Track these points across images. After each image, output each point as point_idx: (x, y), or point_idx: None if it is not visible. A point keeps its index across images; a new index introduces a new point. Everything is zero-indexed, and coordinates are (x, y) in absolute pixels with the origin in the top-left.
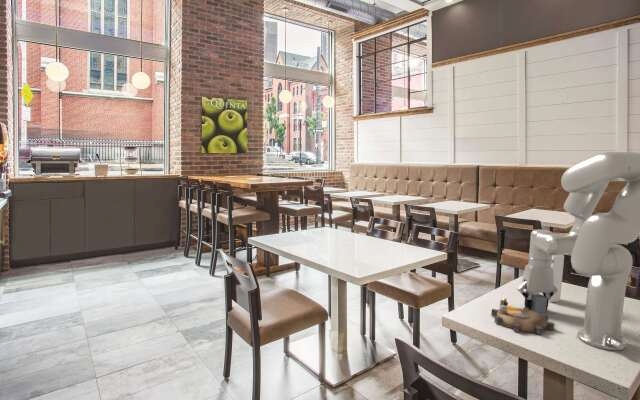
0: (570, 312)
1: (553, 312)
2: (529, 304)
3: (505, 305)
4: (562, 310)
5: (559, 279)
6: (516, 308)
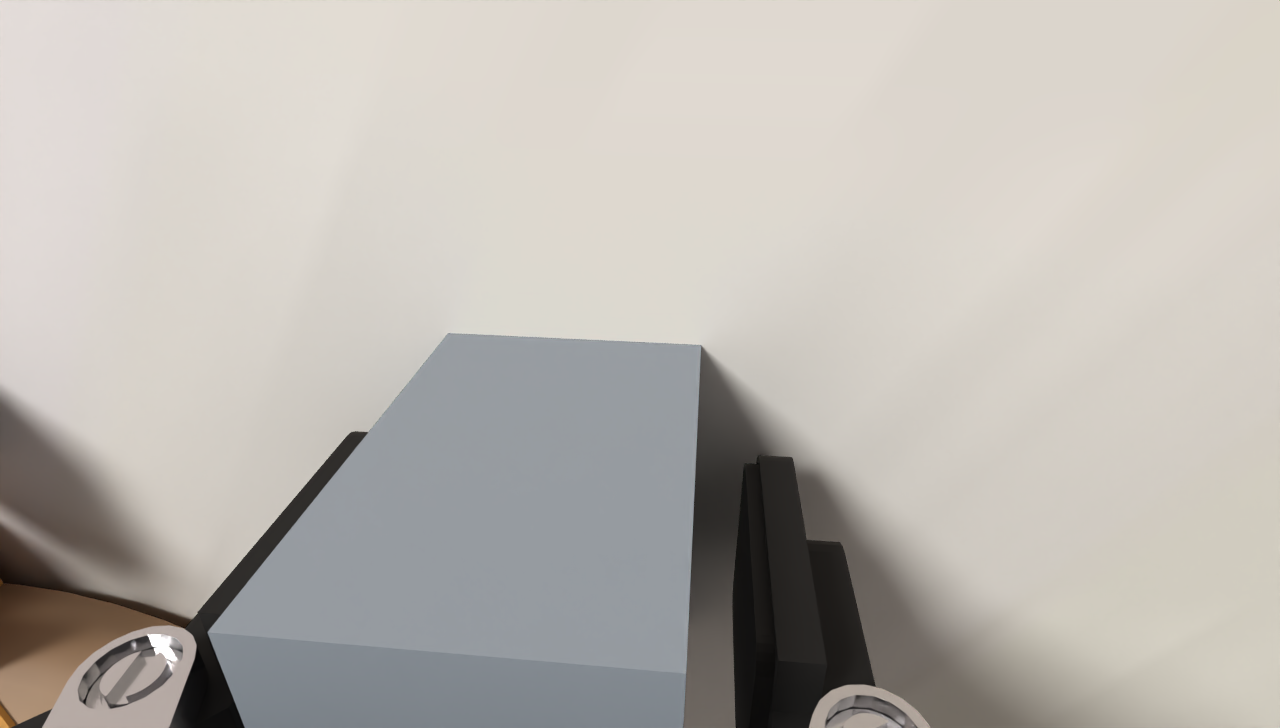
0: (1252, 644)
1: (873, 613)
2: None
3: None
4: (1181, 555)
5: None
6: (28, 715)
